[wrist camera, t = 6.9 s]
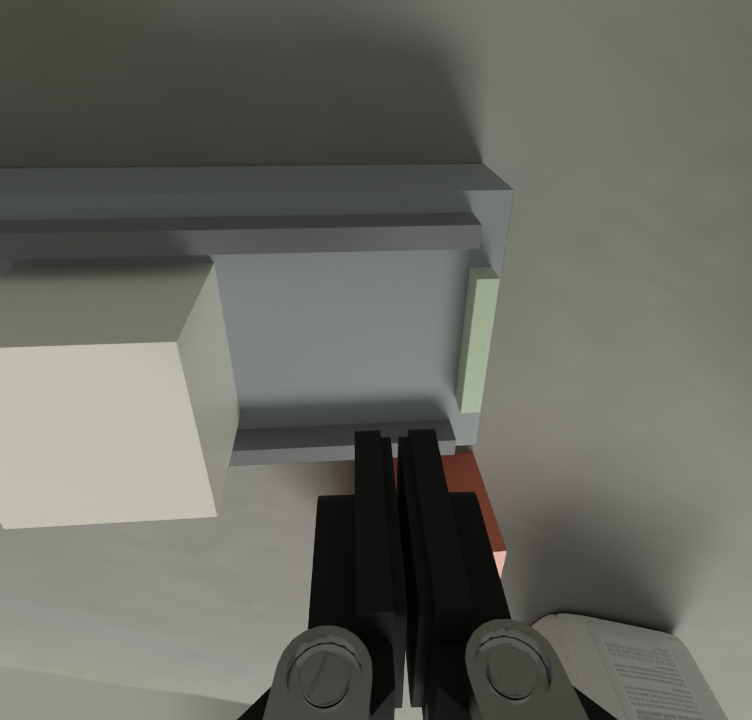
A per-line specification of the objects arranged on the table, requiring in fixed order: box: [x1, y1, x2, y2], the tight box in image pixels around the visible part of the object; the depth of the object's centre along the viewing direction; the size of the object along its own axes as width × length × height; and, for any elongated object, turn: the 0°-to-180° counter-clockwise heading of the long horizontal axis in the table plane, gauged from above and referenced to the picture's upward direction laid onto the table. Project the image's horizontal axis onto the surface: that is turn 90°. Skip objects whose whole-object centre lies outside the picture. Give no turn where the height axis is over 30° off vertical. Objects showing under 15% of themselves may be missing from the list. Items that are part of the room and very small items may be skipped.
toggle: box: [0, 263, 240, 529], centre depth 13 cm, size 5×5×4 cm
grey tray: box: [0, 164, 514, 466], centre depth 16 cm, size 15×8×4 cm, turn 89°
